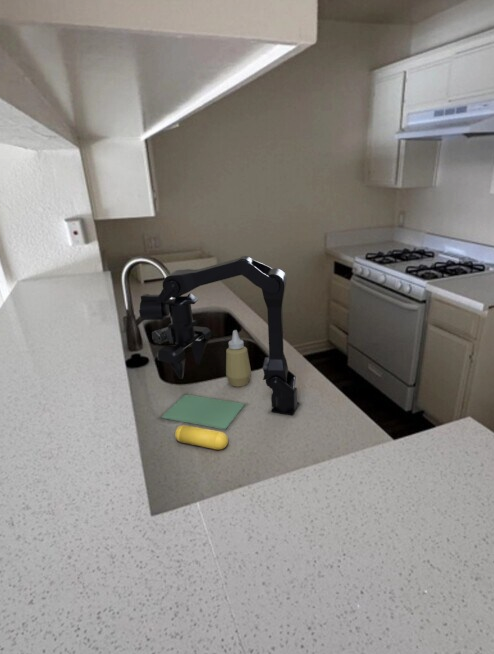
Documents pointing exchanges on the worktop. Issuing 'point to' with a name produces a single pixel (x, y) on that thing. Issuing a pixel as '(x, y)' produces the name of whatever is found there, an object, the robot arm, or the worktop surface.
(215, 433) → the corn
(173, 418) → the towel
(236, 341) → the squeeze bottle
